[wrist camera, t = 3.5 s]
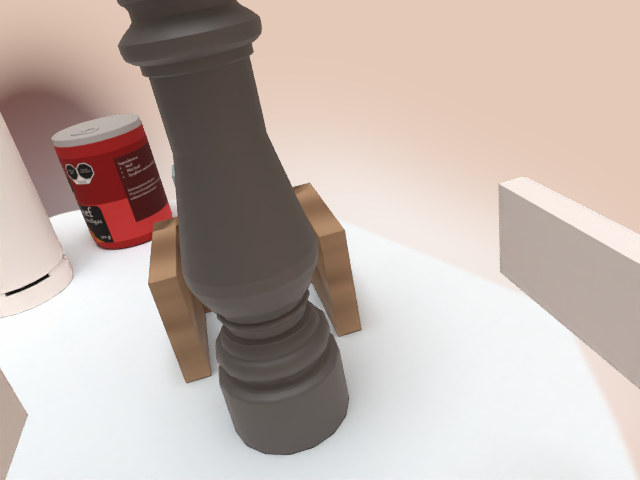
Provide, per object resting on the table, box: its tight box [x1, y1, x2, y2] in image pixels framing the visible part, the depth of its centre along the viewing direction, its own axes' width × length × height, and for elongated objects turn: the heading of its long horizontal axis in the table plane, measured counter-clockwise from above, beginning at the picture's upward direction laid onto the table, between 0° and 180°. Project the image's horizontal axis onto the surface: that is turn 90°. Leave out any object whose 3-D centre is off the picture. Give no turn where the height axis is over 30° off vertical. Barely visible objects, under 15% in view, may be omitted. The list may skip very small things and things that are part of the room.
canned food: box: [52, 114, 172, 249], centre depth 50 cm, size 8×8×11 cm
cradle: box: [148, 183, 361, 383], centre depth 34 cm, size 8×11×7 cm
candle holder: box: [117, 0, 349, 454], centre depth 22 cm, size 6×6×25 cm
